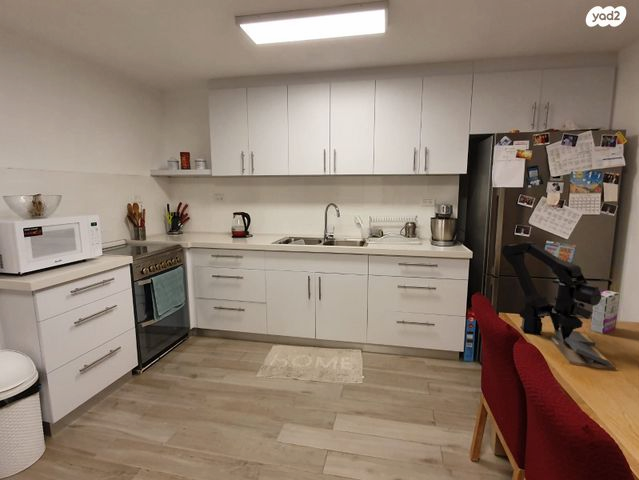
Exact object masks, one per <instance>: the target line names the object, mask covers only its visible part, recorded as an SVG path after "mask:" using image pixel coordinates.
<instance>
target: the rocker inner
mask: <svg viewBox="0 0 639 480" xmlns="http://www.w3.org/2000/svg"><path fill="white" fill-rule="evenodd" d="M553 333H554V334H555V336H558V338H559V339H560V340H561V341H562V342H563V343H567V342H566V341H565V340H564V339H563V337H562V334H561V330H560V329H559V330H555V329H554V331H553ZM569 338H571V339H574V340H576V341H579V342H581V343H583V344H586V345H588V346H594V347H596V342H595V341H594V340H593V339H592V338H591V337H590V336H589V335H587V333H586V332H584V331H576V330H573V331H572V333H571V334H570V336H569ZM567 344H568V343H567Z"/></svg>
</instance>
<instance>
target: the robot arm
mask: <svg viewBox="0 0 639 480" xmlns="http://www.w3.org/2000/svg"><path fill="white" fill-rule="evenodd" d="M527 253H528V254H529V255H531V256H532V257H534V258H535V259H537V260H538V261H540V262H541V263H543V264H544V265H546V266H547V267H548V268H550V270H551V271H552V273H553V274H554V276H556V277H557V278H556V279H554V280H552V283H554V284H556V285H557V292H556V296H554V300H555V303H554V302H549V303H548V300H547V297H546V296H541V295H540V294H539V293H538V291H537V289H536V286H535V284H534V282H533V280H532V277H531V274H530V273H529V270H528V268H527V266H526V264H525V257H526V255H525V254H527ZM501 255H502V256H503V258H504V260H505V261H506V262H507V263H509V265H511V267H512V271H513V272H514V274H515V277H516V278H517V281H518V283H519V286H520V288H521V291H522V293H523V296H524V301H523V305H524V308H523V309H522V310H519V311H518V313H519V317H520V318H522V319H521V320H522V321H521V326H520V329H521V331H522V332H523V333H524V334H530V335H539V336H541V335H542V331H543V324H544V323H543V322H542V319H545V317H546V316H547V315H549V317H550V320H551V323H552V325H553V329H554V330H561V334H562V337H563V339H564V340H565V339H566V337H569V336H570V334H571V333H572V331H575V329H580V328H581V329H582V328H583V323H584V322H583V321H582V320H581V319H580V318H578V316H580V317H583V318H584V319H586V320H589V319H590V317H592V313H593V312H592V311H593V310H590V309H589V308H587V307H585V306H586V305H585V304H588V305H590V306H593V305H594V306H595V305H597V304H598V303H599V302H600V300H601V297H602V295H601V293H600V292H601V291H600V290H599V286H597V285H591V284H589V283H588V281H587V279H586V277H585V276H584V274H583V272H582V268H581V267H580V266H579V265H577V264H575V263H573V262H570V261H567V260H563V259H561V258H559V257H557V256H556V255H554V254H553V253H550V252H549V251H547V250H546V249H545V248H543V247H541V246H539V245H538V244H537V243H536V242H534V241H526V242H523V243H518V244H517V243H516V244H505V245H504V246H503V247H502V249H501Z"/></svg>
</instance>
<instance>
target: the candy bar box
mask: <svg viewBox="0 0 639 480" xmlns="http://www.w3.org/2000/svg"><path fill="white" fill-rule="evenodd" d="M600 293H601V295H602V297H601V300H600V302H599V303H598V304H597V305H595V306H594V305H592V310H591V311H592V312H593V313H592V314H591V321H590V329H589V330H590V331H592V332H595V333H598V334H601V335H604V334H606V333H609V332H612V331H614V330H616V327H617V318H618V311H619V302H620V293H621V292H617V291H611V290H604V291H600Z"/></svg>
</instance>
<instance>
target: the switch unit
mask: <svg viewBox="0 0 639 480" xmlns="http://www.w3.org/2000/svg"><path fill="white" fill-rule="evenodd" d="M548 338H549V339H550V341H551V342H552V343H553V345H554V346H555V348H557V350H558V351H559V353H560V354H561V355H562V356H563V358H564V359H565V360H566V362H567V363H568V364H570V365H577V366H584V367H589V368H590V367H592V368H598V369H603V370H604V369H606V370H610V371H611V370H612V371H615V370H616V366H615V365H614V364H613V363H612V362H611V361H610V360H609V359H608V358H606V356H605V355H604V354H602V355H603V356H604V357H605V358H606V359H607V360H608V361H609V364H608V365H605V364H603V363H601V362H598V361H596V360H594V359H591V358H589V357H586V356H584V355H582V354H579V353H577V352H575V351H574V350H573V349H572V347H571V346H570V345H569V344H567V343H563V342H562V341H561V340H560V339H559V338H558V336H557V335H551V334H549V335H548ZM591 347H593V348H596V346H591Z"/></svg>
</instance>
